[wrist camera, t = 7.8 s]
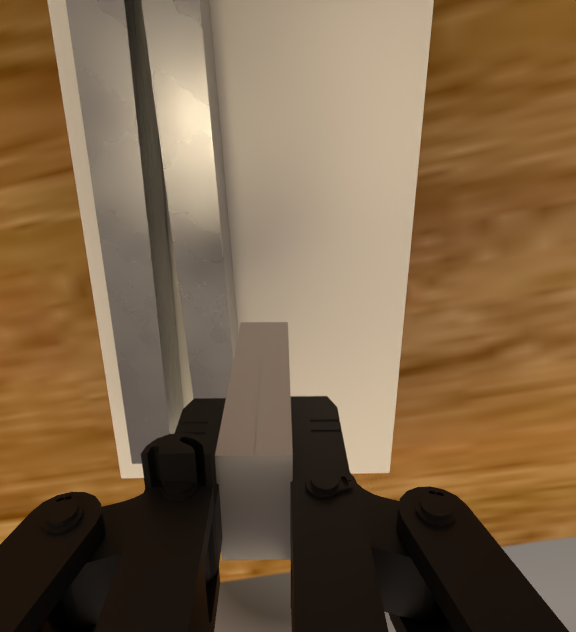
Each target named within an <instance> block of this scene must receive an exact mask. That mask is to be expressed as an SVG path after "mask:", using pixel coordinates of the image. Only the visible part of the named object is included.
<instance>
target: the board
mask: <svg viewBox="0 0 576 632" xmlns="http://www.w3.org/2000/svg"><path fill="white" fill-rule="evenodd" d="M47 1H48V8H49V14H50V21H51V27H52V34H53V40H54V47H55V53H56V60H57V66H58V72H59V79H60V85H61V92H62V98H63V105H64V111H65V118H66V124H67V131H68V137H69V143H70V150H71V156H72V163H73V169H74V176H75V182H76V189H77V195H78V202H79V208H80V214H81V221H82V227H83V234H84V240H85V247H86V253H87V260H88V266H89V273H90V279H91V285H92V292H93V298H94V305H95V311H96V318H97V324H98V331H99V337H100V344H101V350H102V356H103V363H104V369H105V376H106V382H107V389H108V395H109V402H110V408H111V415H112V421H113V427H114V434H115V440H116V447H117V453H118V460H119V466H120V473H121V478H144V475H143V468H142V464H132V461H131V454H130V447H129V440H128V433H127V426H126V419H125V412H124V405H123V398H122V391H121V384H120V377H119V370H118V363H117V356H116V349H115V342H114V335H113V328H112V321H111V314H110V307H109V300H108V293H107V286H106V279H105V272H104V265H103V258H102V251H101V244H100V237H99V230H98V224H97V217H96V210H95V203H94V196H93V189H92V182H91V175H90V168H89V161H88V154H87V147H86V140H85V133H84V126H83V119H82V112H81V105H80V98H79V91H78V84H77V77H76V70H75V63H74V56H73V49H72V42H71V35H70V28H69V21H68V14H67V7H66V0H47ZM209 1H210V13H211V24H212V36H213V47H214V59H215V70H216V81H217V93H218V104H219V116H220V127H221V139H222V150H223V162H224V173H225V185H226V196H227V208H228V219H229V231H230V242H231V254H232V265H233V277H234V288H235V299H236V311H237V322H238V334H239V329H240V323H241V322H288V339H289V367H290V394H291V396H328V398H329V399H330V400H331V401H332V402H333V403H334V404H335V405H336V406H337V409H338V414H339V419H340V424H341V429H342V434H343V439H344V445H345V450H346V455H347V460H348V465H349V470H350V473H351V474H356V473H389V472H390V461H391V450H392V440H393V429H394V419H395V408H396V397H397V387H398V376H399V365H400V355H401V344H402V333H403V323H404V312H405V302H406V291H407V280H408V270H409V259H410V248H411V238H412V227H413V217H414V206H415V195H416V185H417V174H418V163H419V153H420V142H421V131H422V121H423V110H424V100H425V89H426V78H427V68H428V57H429V46H430V36H431V25H432V14H433V4H434V0H209ZM158 134H159V131H158ZM159 145H160V139H159ZM160 156H161V167H162V178H163V189H164V200H165V211H166V222H167V233H168V244H169V255H170V266H171V277H172V288H173V299H174V309H175V320H176V331H177V342H178V353H179V364H180V375H181V386H182V397H183V408H185V407H186V406H187V405H188V404H189V403H190V402H191V401H192V400H193V399H194V398H193V391H192V383H191V375H190V368H189V360H188V352H187V345H186V337H185V330H184V322H183V314H182V307H181V299H180V291H179V284H178V276H177V269H176V261H175V253H174V246H173V238H172V230H171V223H170V215H169V208H168V200H167V192H166V185H165V177H164V169H163V162H162V154H161V147H160Z"/></svg>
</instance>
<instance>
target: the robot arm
mask: <svg viewBox="0 0 576 632" xmlns="http://www.w3.org/2000/svg"><path fill="white" fill-rule="evenodd" d="M141 460H142V468H143V475H144V482H145V491H144V493H143V494H141V495H139V496H137V497H135V498H133V499H130V500H127V501H124V502H120V503H116V504H112V505H108V506H104V507H101V503H100V502H99V500H98V499H97V498H96V497H95V496H93V495H91V494H88V493H86V492H70V493H65V494H61V495H57V496H55V497H53V498H51V499H49V500H47V501H45V502H43V503H42V504H40V505H39V506H38V507H37V508H35V509H34V510H33V511H32V512H31V513H30V514H29V515H28V516H27V517H26V518H25V519H24V520H23V521H22V522H21V523H20V524H19V525H18V526H17V528H16V529H15V530H14V531H13V532H12V533H11V534H10V535H9V536H8V537H7V538H6V539H5V540H4V541H3V542H2V543H1V544H0V632H214V628H215V620H216V619H215V618H216V612H217V604H218V596H219V588H220V576H219V560H220V553H221V552H222V560H286V559H291V616H292V632H388V628H387V623H386V618H385V613H384V612H388V613H389V616H390V619H391V621H392V623H393V626H394V628H395V630H396V632H569V631H568V630H567V628H566V627H565V626H564V625H563V623H562V622H561V621H560V620H559V619H558V617H557V616H556V615H555V614H554V612H553V611H552V610H551V609H550V607H549V606H548V605H547V604H546V602H545V601H544V600H543V599H542V597H541V596H540V595H539V594H538V593H537V591H536V590H535V589H534V588H533V586H532V585H531V584H530V583H529V581H528V580H527V579H526V578H525V576H524V575H523V574H522V573H521V571H520V570H519V569H518V568H517V567H516V565H515V564H514V563H513V562H512V561H511V559H510V558H509V557H508V555H507V554H506V553H505V552H504V550H503V549H502V548H501V547H500V545H499V544H498V543H497V542H496V541H495V539H494V538H493V537H492V536H491V534H490V533H489V532H488V531H487V529H486V528H485V527H484V526H483V524H482V523H481V522H480V521H479V520H478V518H477V517H476V516H475V515H474V513H473V512H472V511H471V510H470V508H469V507H468V506H467V505H466V504H465V503H464V502H463V501H462V500H461V499H460V498H458V497H457V496H456V495H454V494H452V493H450V492H448V491H446V490H443V489H439V488H434V487H417V488H414V489H412V490H409V491H407V492H406V493H405V494H404V495H403V496H402V497H401V498H400V501H396V500H392V499H388V498H384V497H380V496H377V495H374V494H372V493H370V492H368V491H366V490H364V489H363V488H362V487H361V486H359V485H358V484H357V482H356V480H355V478H354V477H353V476H352V475H351V473H350V470H349V465H348V460H347V455H346V450H345V445H344V439H343V434H342V429H341V424H340V419H339V414H338V409H337V406H336V405H335V404H334V403H333V402H332V401H331V400H330V399H329V398H328V396H291V394H290V367H289V339H288V322H241V323H240V329H239V334H238V339H237V344H236V349H235V354H234V359H233V365H232V370H231V375H230V380H229V385H228V390H227V396H226V398H194V399H193V400H192V401H191V402H190V403H189V404H188V405H187V406H186V407H185V408H183V409H182V412H181V415H180V418H179V421H178V425H177V427H176V430H175V433H174V434H168V435H165V436H163V437H160V438H157V439H155V440H154V441H152V442H151V443H150V444H148V445H147V446H146V447H145V448H144V450H143V451H142V453H141Z"/></svg>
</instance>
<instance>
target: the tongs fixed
mask: <svg viewBox="0 0 576 632" xmlns="http://www.w3.org/2000/svg"><path fill="white" fill-rule="evenodd" d="M66 7H67V14H68V21H69V28H70V35H71V42H72V49H73V56H74V63H75V70H76V77H77V84H78V91H79V98H80V105H81V112H82V119H83V126H84V133H85V140H86V147H87V154H88V161H89V168H90V175H91V182H92V189H93V196H94V203H95V210H96V217H97V224H98V230H99V237H100V244H101V251H102V258H103V265H104V272H105V279H106V286H107V293H108V300H109V307H110V314H111V321H112V328H113V335H114V342H115V349H116V356H117V363H118V370H119V377H120V384H121V391H122V398H123V405H124V412H125V419H126V426H127V433H128V440H129V447H130V454H131V461H132V464H142V460H141V453H142V451H143V450H144V448H145V447H146V446H147V445H148V444H150V443H151V442H152V441H154V440H155V439H157V438H160V437H163V436H165V435H168V434H174V433H175V430H176V427H177V425H178V421H179V418H180V415H181V412H182V409H183V397H182V386H181V375H180V364H179V353H178V342H177V331H176V320H175V309H174V299H173V288H172V277H171V266H170V255H169V244H168V233H167V222H166V211H165V200H164V189H163V178H162V167H161V156H160V145H159V134H158V124H157V116H156V108H155V101H154V93H153V86H152V78H151V70H150V63H149V55H148V47H147V40H146V32H145V25H144V17H143V9H142V2H141V0H66Z"/></svg>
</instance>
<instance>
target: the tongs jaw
mask: <svg viewBox="0 0 576 632" xmlns="http://www.w3.org/2000/svg"><path fill="white" fill-rule="evenodd" d="M141 2H142V9H143V17H144V25H145V32H146V40H147V47H148V55H149V63H150V70H151V78H152V86H153V93H154V101H155V108H156V116H157V124H158V131H159V139H160V147H161V154H162V162H163V169H164V177H165V185H166V192H167V200H168V208H169V215H170V223H171V230H172V238H173V246H174V253H175V261H176V269H177V276H178V284H179V291H180V299H181V307H182V314H183V322H184V330H185V337H186V345H187V352H188V360H189V368H190V375H191V383H192V391H193V398H226V396H227V390H228V385H229V380H230V375H231V370H232V365H233V359H234V354H235V349H236V344H237V339H238V322H237V311H236V299H235V288H234V277H233V265H232V254H231V242H230V231H229V219H228V208H227V196H226V185H225V173H224V162H223V150H222V139H221V127H220V116H219V104H218V93H217V81H216V70H215V59H214V47H213V36H212V24H211V13H210V1H209V0H141Z"/></svg>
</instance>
